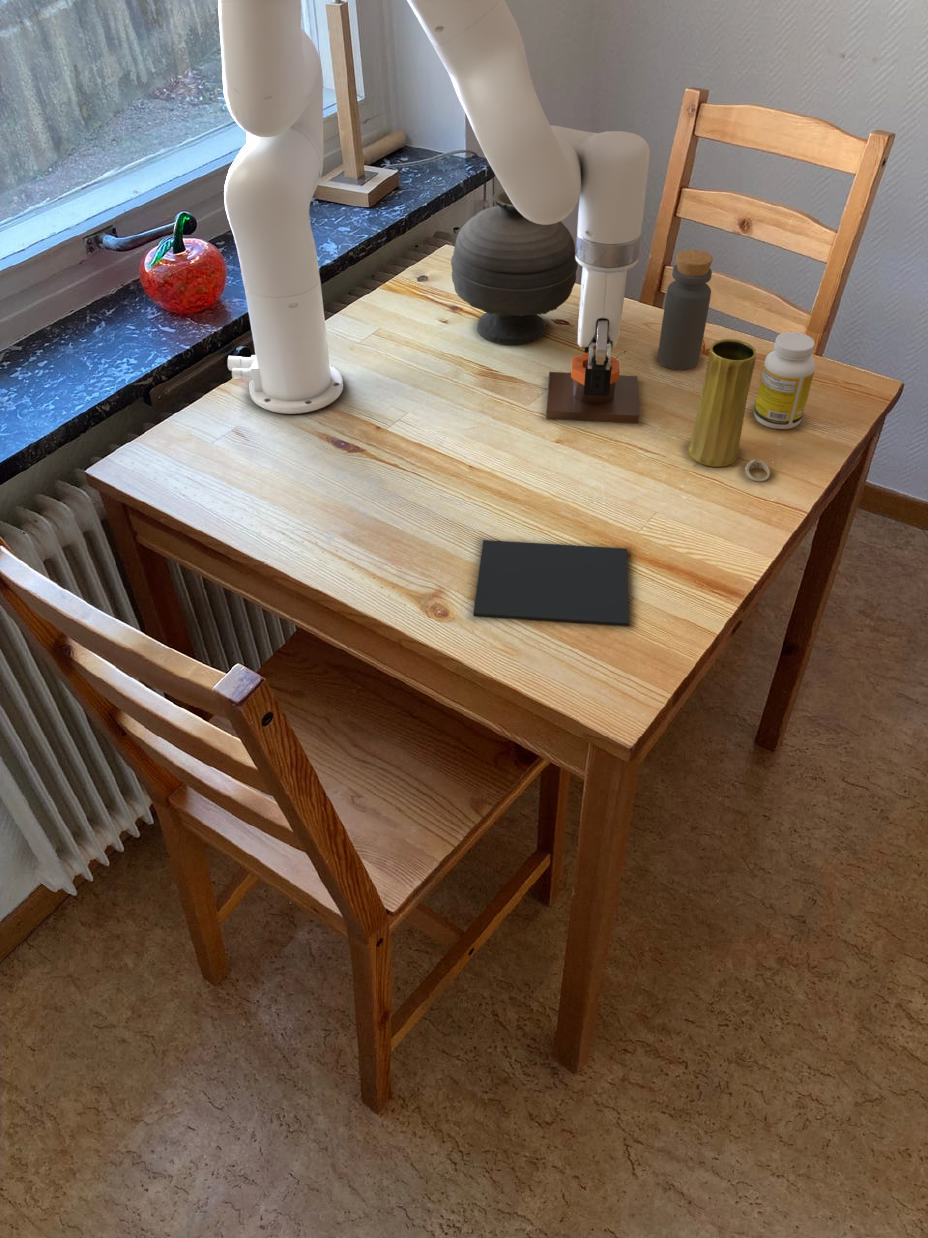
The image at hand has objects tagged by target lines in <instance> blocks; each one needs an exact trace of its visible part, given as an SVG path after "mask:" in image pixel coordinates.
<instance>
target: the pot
mask: <svg viewBox="0 0 928 1238" xmlns="http://www.w3.org/2000/svg"><path fill="white" fill-rule="evenodd" d="M492 201H493V203H494V204H495V206H492V207H487V208H485V209H481V210H480V211H478V212H477V213H476V214H475V215H473V216H472V217H471V218H469V220H468V221H466V223H465V224H464V225H463V226H462V227H461V229H460V231H459V232H458V233H457V236H456V240H455V242H454V248H453V255H452V256H451V259H450V265H451V280H452V283H453V288H454V291H455V293H456V294H457V296H458V297H459V298H460V299H461V300H462V301H464V302H466V303H467V304H469V306H471V308H475V309H478V310H482V311H483V312H484V313H483V314H482V315H481V316H480V317H479V319H478V321H477V325H476V332H477V333H478V335H479V336H480V337H481V338H483V339H485V340H486V341H490V342H492V343H495V344H500V345H506V346H509V345H510V346H519V345H520V346H521V345H528V344H529V343H533V342H534V341H536V340H538V339H539V338H542V336H543V335H544V334H545V332H546V324H545V322H544V319H543V318H542V317H541V316H542V315H547V314H548V313H549V312H553V311H555V310H557V309H558V308H559V307H560V306H561V305H563V304H564V303H565V302H567V300H569V298H570V296H571V294H572V292H573V288H574V286H575V284H576V281H577V270H578V267H579V264H578V262H577V261H576V259H575V256H576V243H575V241H574V238H573V235H572V234H571V232H570V230H569V228H568V227H567V226H566V225H565V224H564V223H563V222H562V221H560V222H557V223H555V224H550V225H541V224H536V223H534V222H532V221H529V220H528V219H526V218H525V217H524V216H523V215H522V214H520V213H519V212H518V210H517V209H516V208H515V207H514V205H513V204H512V202H511V200H510V199H509V197H508V195H507V194H506V192H505V190H504V189H503V188H502V189H500V190H497V191H496V192H495V193H494V194H493V197H492Z"/></svg>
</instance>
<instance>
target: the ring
mask: <svg viewBox="0 0 928 1238" xmlns="http://www.w3.org/2000/svg"><path fill="white" fill-rule="evenodd" d="M753 468H755V469H762V470H764V471H765V472H766V476H765V477H763V478H757V477H754V476H753V475H752V474H751V473H750V470H753ZM743 471H744V474H745V475H746V477H747V478H748V479H749V480H751V481H753V482H758V483H759V482H760V483H761V482H766V481H768V480H769V478H770V476H771V470H770V468H769V466H768V465H767V463H765V461H763V460H760V459H759V460H756V458H754V459H750V460H749V461H748V462H747V463H746V464H745V466H744V469H743Z"/></svg>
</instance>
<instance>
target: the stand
mask: <svg viewBox="0 0 928 1238" xmlns="http://www.w3.org/2000/svg"><path fill="white" fill-rule="evenodd" d="M594 355H596V349H593V356H594ZM638 377H639V376H638V375H625V374H623V375H622V374H619V380H618V381H616V382H614V383H612V384H610V389H609V395H608V396H592V395H585V394H584V385H583V384H581V383H579V382H578V381H576V380H574V379H572V378H571V372H563V371H561V372H560V371H549V372H548V382H547V383H548V385H547V397H546V398H547V400H546V409H545V410H546V411H545V414H546V415H545V419H547V420H565V421H581V422H582V421H583V422H585V421H586V422H602V423H603V422H605V423H624V424H639V422H640V400H639V399H640V398H639V378H638Z"/></svg>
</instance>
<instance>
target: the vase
mask: <svg viewBox="0 0 928 1238" xmlns="http://www.w3.org/2000/svg"><path fill="white" fill-rule="evenodd" d="M709 347H710V348H709V352H708V353H709V354H708V359H707V366H706V371H705V375H704V379H703V384H702V390H701V395H700V398H699V399H700V400H699V405H698V409H697V413H696V415H695V416H696V417H695V420H694V423H693V428H692V433H691V438H690V442H689V444H688V447H687V452H688V455H689V456H690V458H691V459H692V460H694V461H695V462H696V463H698V464H700V465H704V466H707V467H714V468H720V467H721V468H722V467H727V466H729V465H732V464H733V463H734V462H735V461H736V460H738V457H739V450H740V443H741V437H742V431H743V426H744V421H745V420H744V419H745V414H746V410H747V409H746V408H747V403H748V397H749V392H750V387H751V383H752V378H753V373H754V368H755V364H756V359H757V350H756V347H754V346H753V345H751V344H750V343H748V342H746V341H743V340H740V339H734V338H724V339H723V338H722V339H720V340H717V341H715V342H713V343H712V344H711V345H710V346H709Z"/></svg>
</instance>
